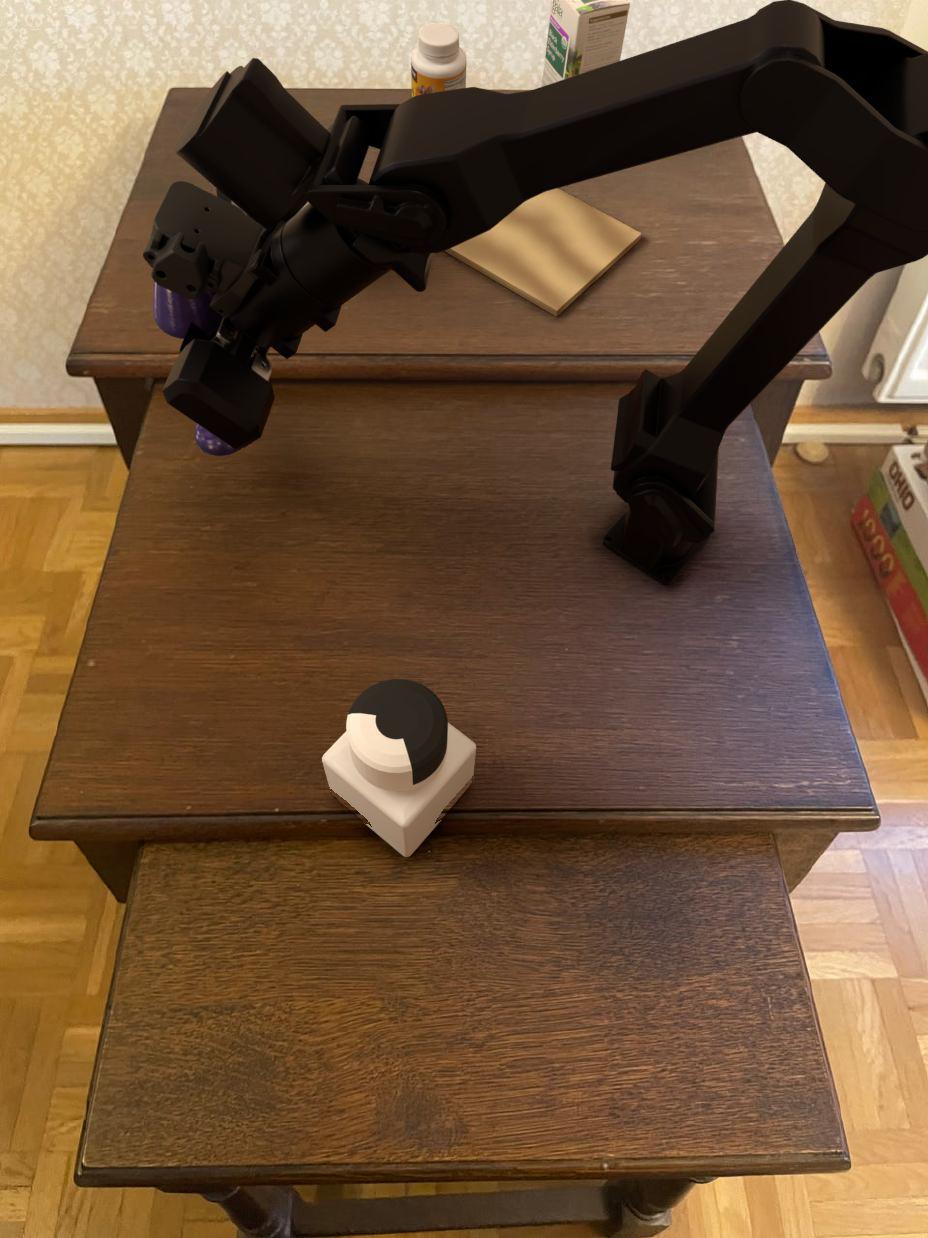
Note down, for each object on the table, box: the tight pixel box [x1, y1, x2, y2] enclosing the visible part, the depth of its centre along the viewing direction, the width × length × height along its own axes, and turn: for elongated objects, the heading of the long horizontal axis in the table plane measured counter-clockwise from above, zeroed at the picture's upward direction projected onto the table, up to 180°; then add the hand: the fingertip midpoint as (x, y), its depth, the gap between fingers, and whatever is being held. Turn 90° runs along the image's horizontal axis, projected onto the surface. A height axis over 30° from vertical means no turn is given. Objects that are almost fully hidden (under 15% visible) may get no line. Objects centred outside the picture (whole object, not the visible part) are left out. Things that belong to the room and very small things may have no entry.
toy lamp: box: [152, 280, 243, 457], centre depth 69 cm, size 5×5×17 cm
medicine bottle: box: [321, 678, 477, 858], centre depth 62 cm, size 7×7×12 cm
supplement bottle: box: [410, 22, 467, 98], centre depth 99 cm, size 6×6×10 cm
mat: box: [444, 188, 642, 317], centre depth 95 cm, size 14×14×1 cm
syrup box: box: [540, 0, 631, 87], centre depth 98 cm, size 6×6×14 cm
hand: (186, 365), depth 70 cm, fingers closed on toy lamp, 3 cm apart
